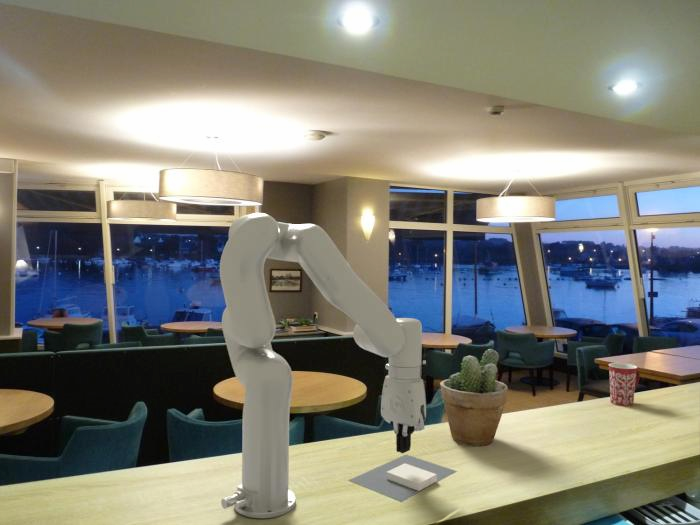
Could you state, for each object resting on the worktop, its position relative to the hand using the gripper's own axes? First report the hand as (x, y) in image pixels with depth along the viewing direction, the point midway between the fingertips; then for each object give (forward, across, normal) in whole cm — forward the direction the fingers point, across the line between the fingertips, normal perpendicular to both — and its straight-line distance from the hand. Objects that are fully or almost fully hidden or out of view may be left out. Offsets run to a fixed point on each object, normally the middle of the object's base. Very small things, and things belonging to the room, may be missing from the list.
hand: (403, 450), depth 126 cm
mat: (+7, 0, +1) cm, 7 cm away
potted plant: (+7, -2, +35) cm, 36 cm away
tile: (+5, -2, 0) cm, 6 cm away
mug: (+7, +18, +107) cm, 109 cm away
